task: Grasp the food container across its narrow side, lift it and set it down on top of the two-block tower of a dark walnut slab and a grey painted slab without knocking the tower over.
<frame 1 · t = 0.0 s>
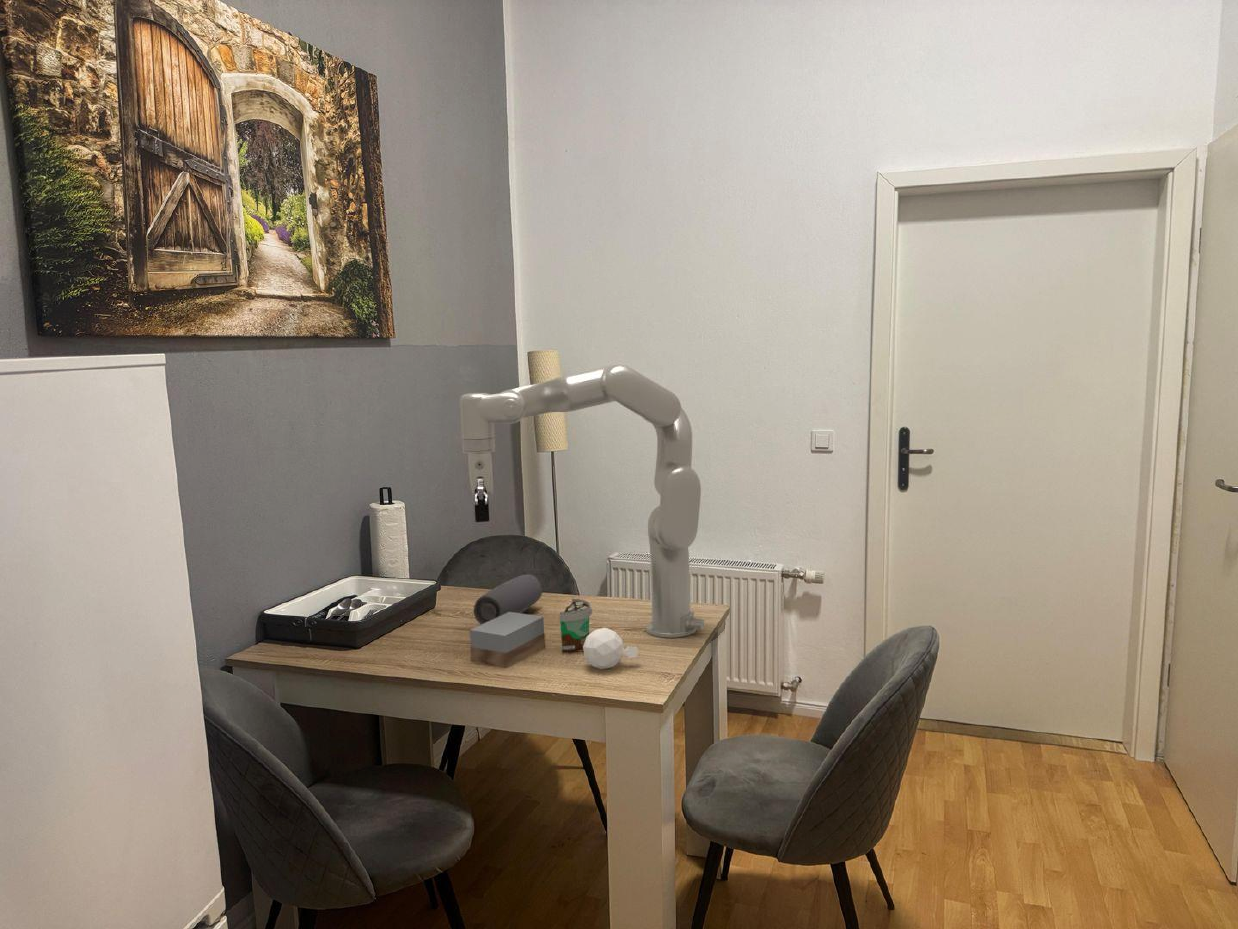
hand: (482, 517, 203), 31 cm above the table, fingers open, 9 cm apart
perfume bottle: (610, 668, 189), on the table
grey slab: (508, 639, 199), point 3 cm above the table, touching walnut slab
walnut slab: (509, 656, 200), on the table, touching grey slab
food container: (580, 647, 204), on the table
bluetooth speaker: (510, 620, 227), on the table
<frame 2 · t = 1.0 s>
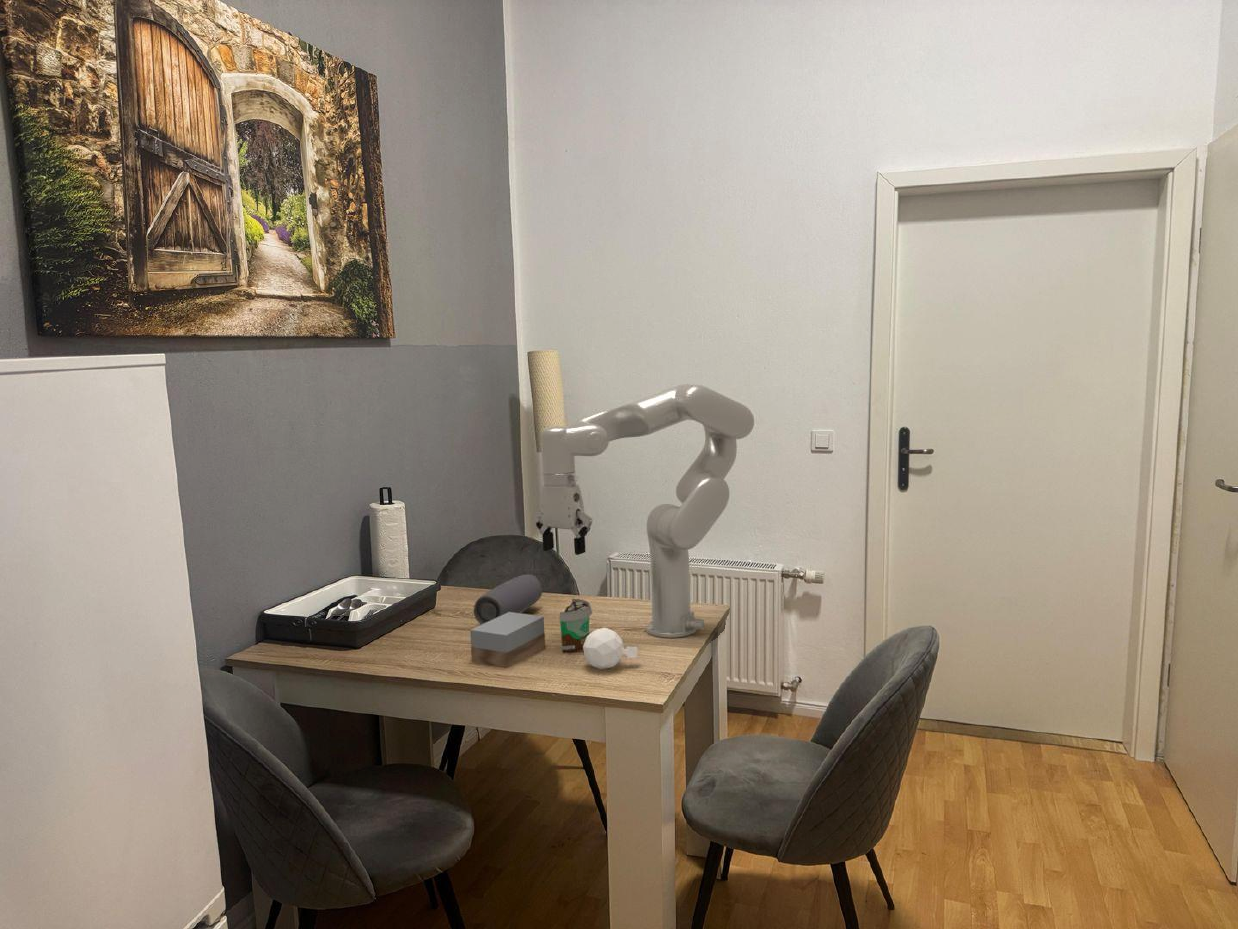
hand: (564, 551, 202), 23 cm above the table, fingers open, 9 cm apart
nothing on the table moved.
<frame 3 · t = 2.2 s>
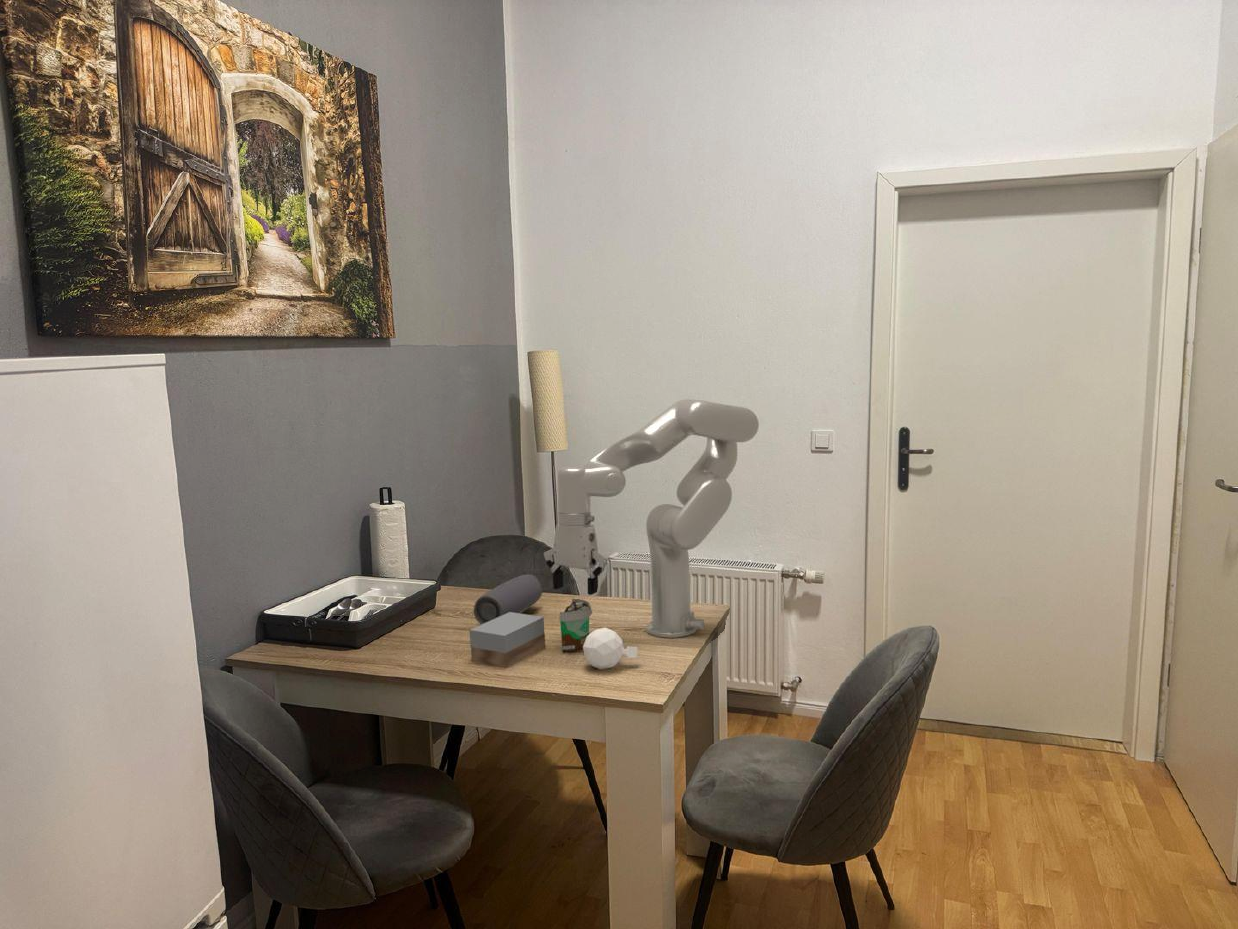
hand: (575, 590, 202), 14 cm above the table, fingers open, 9 cm apart
nothing on the table moved.
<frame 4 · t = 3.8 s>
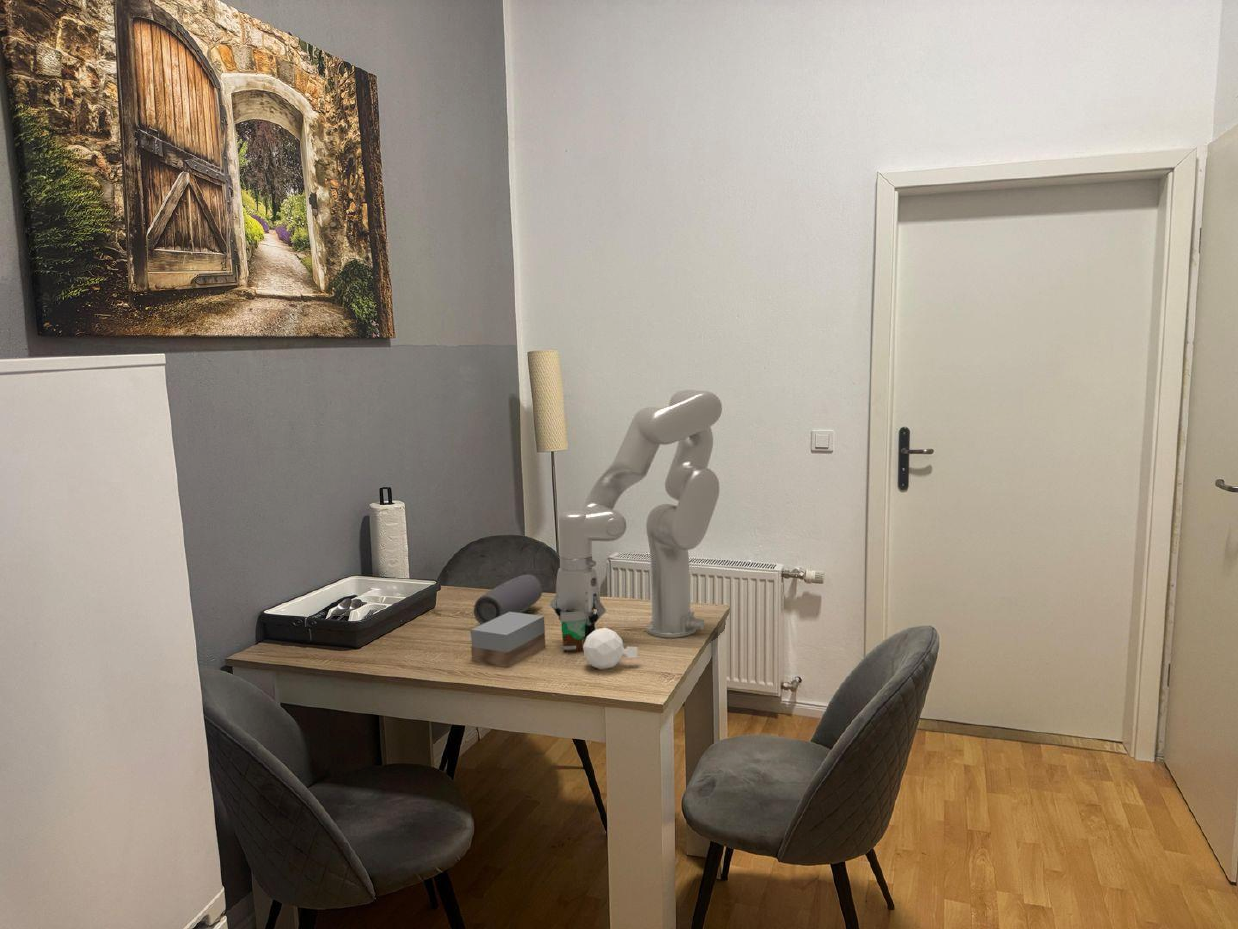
hand: (578, 637, 203), 2 cm above the table, fingers closed on food container, 5 cm apart
food container: (581, 647, 204), on the table, touching gripper
everything else where it was.
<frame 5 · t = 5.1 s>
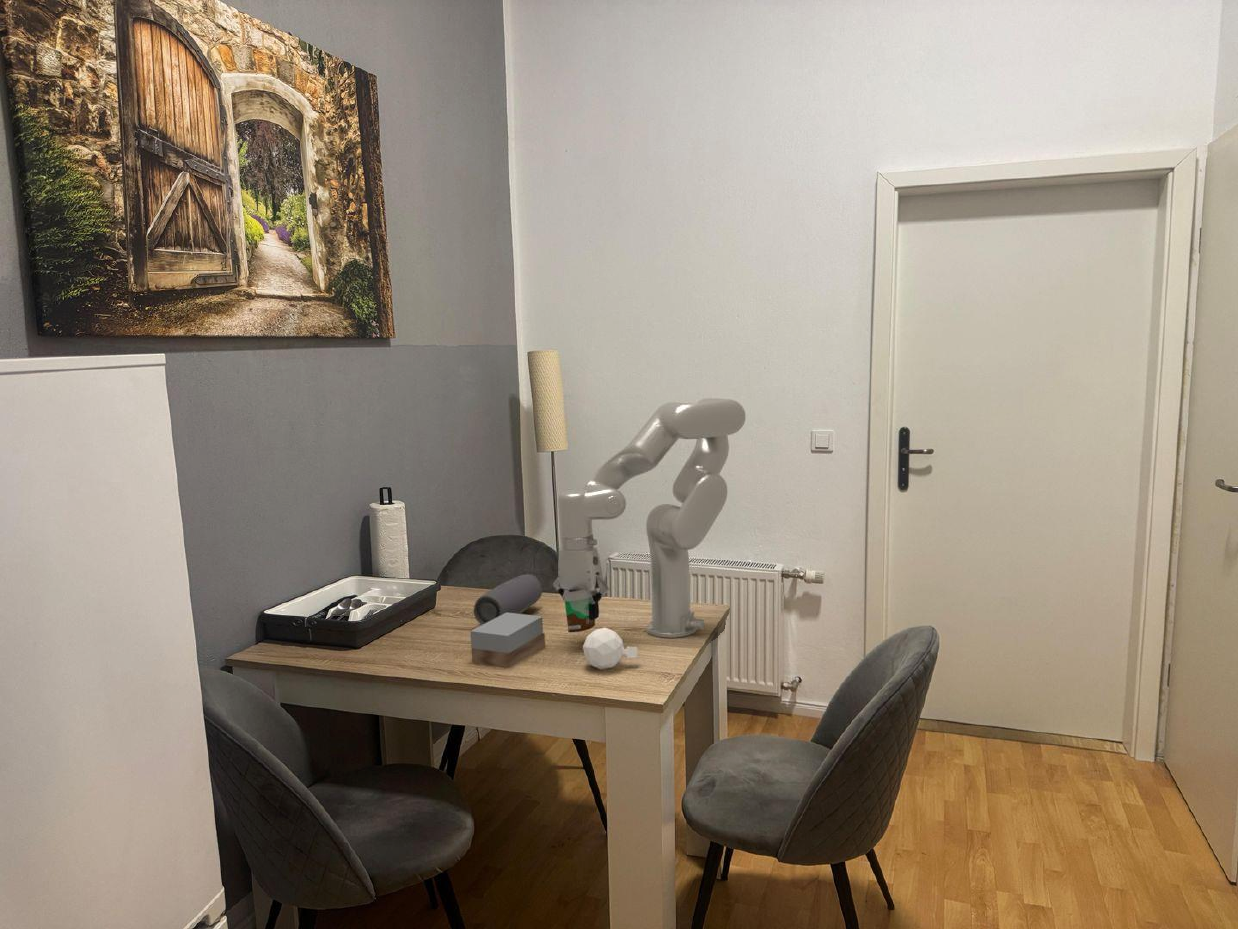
hand: (582, 616, 203), 7 cm above the table, fingers closed on food container, 5 cm apart
food container: (586, 626, 203), point 5 cm above the table, touching gripper
everything else where it was.
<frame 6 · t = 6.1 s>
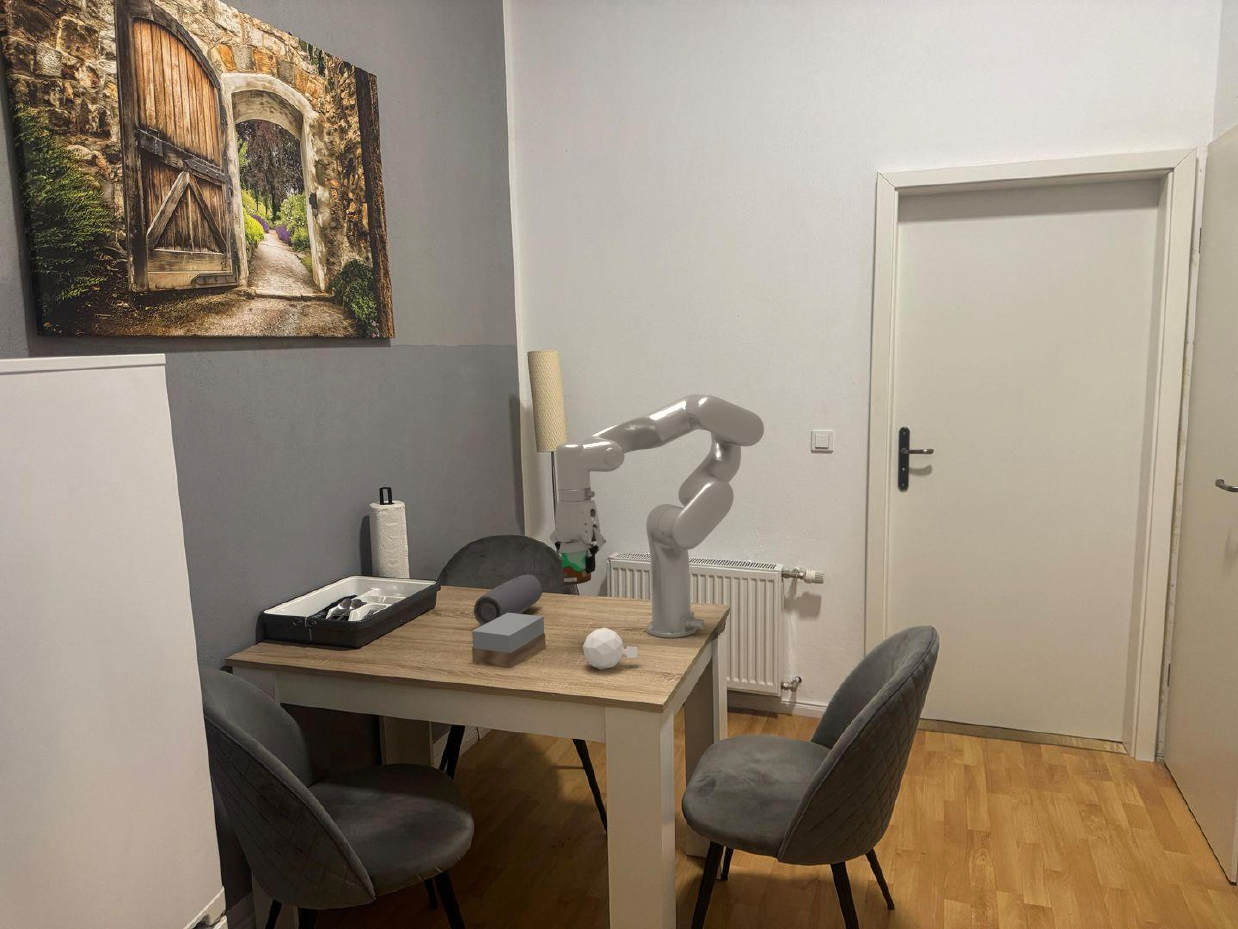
hand: (578, 570, 202), 18 cm above the table, fingers closed on food container, 5 cm apart
food container: (582, 580, 202), point 16 cm above the table, touching gripper
everything else where it was.
when the fingers open (11 cm above the table, at t = 10.6 s): food container drops 2 cm, resting on grey slab.
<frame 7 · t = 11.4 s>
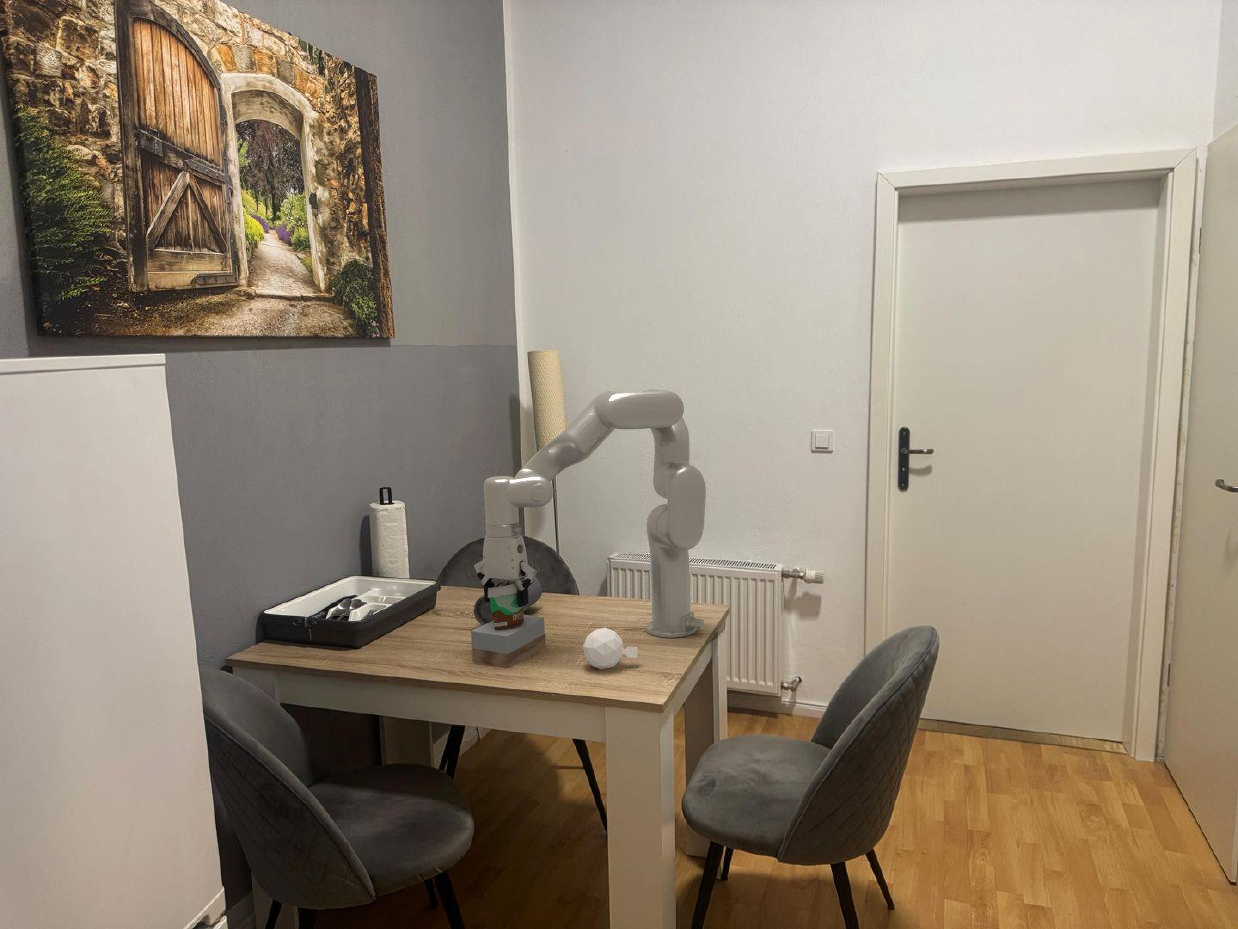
hand: (506, 603, 198), 12 cm above the table, fingers open, 9 cm apart
grey slab: (509, 640, 199), point 3 cm above the table, touching food container, walnut slab
food container: (515, 624, 198), point 7 cm above the table, touching grey slab, gripper
everything else where it was.
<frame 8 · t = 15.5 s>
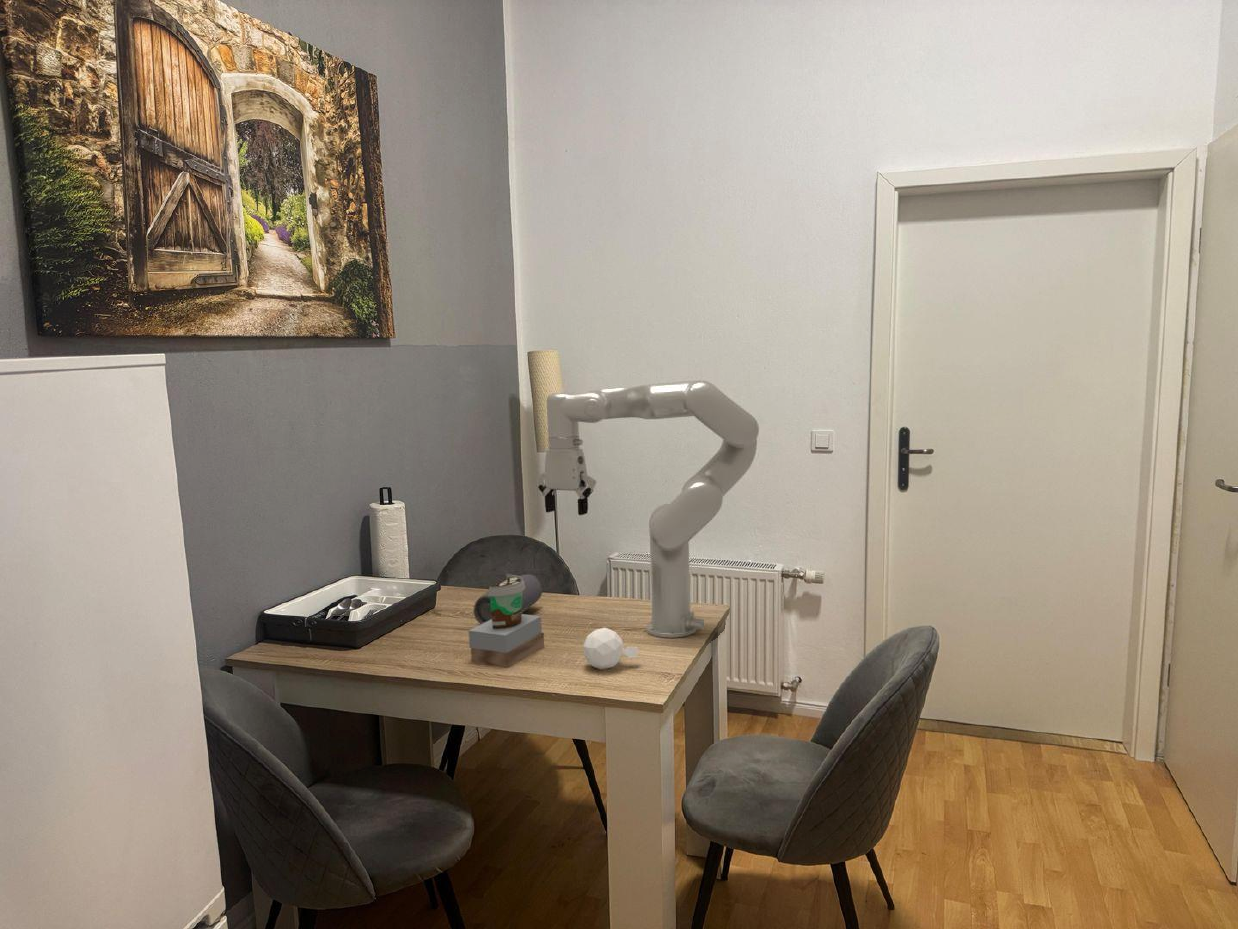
hand: (566, 512, 211), 30 cm above the table, fingers open, 9 cm apart
food container: (512, 623, 199), point 7 cm above the table, touching grey slab
everything else where it was.
at the end: food container inside the target area on the walnut slab (1.2 cm from its centre), point 7.8 cm above the walnut slab's base; grey slab 0.4 cm from the walnut slab (horizontally); food container tilted 0° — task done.
